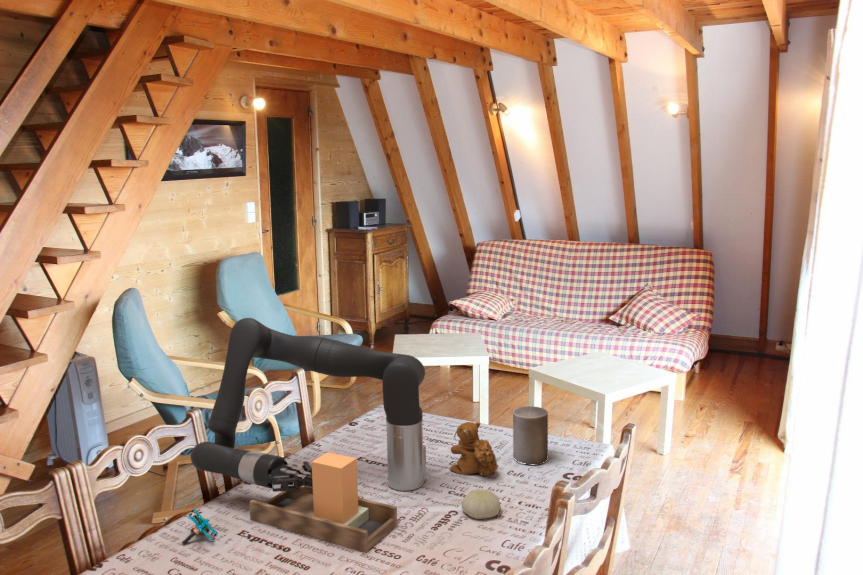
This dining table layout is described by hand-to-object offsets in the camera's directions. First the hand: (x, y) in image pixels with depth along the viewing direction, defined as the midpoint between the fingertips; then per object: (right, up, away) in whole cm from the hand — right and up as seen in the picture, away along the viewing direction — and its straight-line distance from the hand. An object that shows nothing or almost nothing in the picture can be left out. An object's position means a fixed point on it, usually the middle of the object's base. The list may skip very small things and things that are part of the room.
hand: (321, 483), depth 160 cm
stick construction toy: (-27, -11, -4) cm, 29 cm away
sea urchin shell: (+37, -9, +6) cm, 38 cm away
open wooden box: (0, -9, +2) cm, 10 cm away
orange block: (+4, -7, -1) cm, 8 cm away
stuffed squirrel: (+37, -5, +28) cm, 47 cm away
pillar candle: (+53, -3, +35) cm, 64 cm away
